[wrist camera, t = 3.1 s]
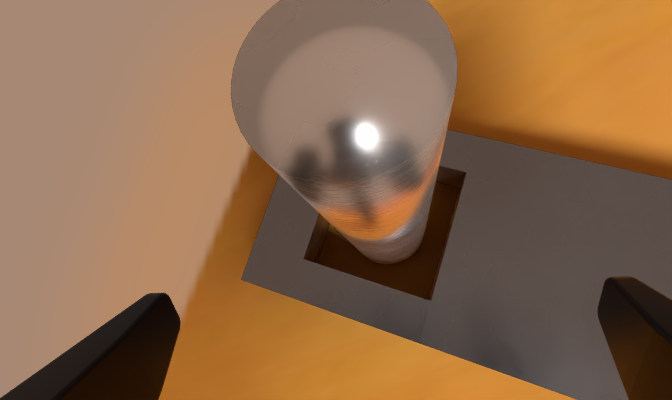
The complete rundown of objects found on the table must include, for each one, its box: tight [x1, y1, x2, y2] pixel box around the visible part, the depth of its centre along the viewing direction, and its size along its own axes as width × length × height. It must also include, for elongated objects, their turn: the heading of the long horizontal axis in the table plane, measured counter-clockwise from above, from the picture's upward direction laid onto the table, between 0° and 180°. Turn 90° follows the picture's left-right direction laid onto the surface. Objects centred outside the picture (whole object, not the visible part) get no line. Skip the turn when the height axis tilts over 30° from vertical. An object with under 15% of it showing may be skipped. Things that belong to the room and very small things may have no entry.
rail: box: [241, 129, 672, 400], centre depth 16 cm, size 33×9×3 cm, turn 72°
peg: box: [231, 0, 458, 264], centre depth 13 cm, size 4×4×14 cm
